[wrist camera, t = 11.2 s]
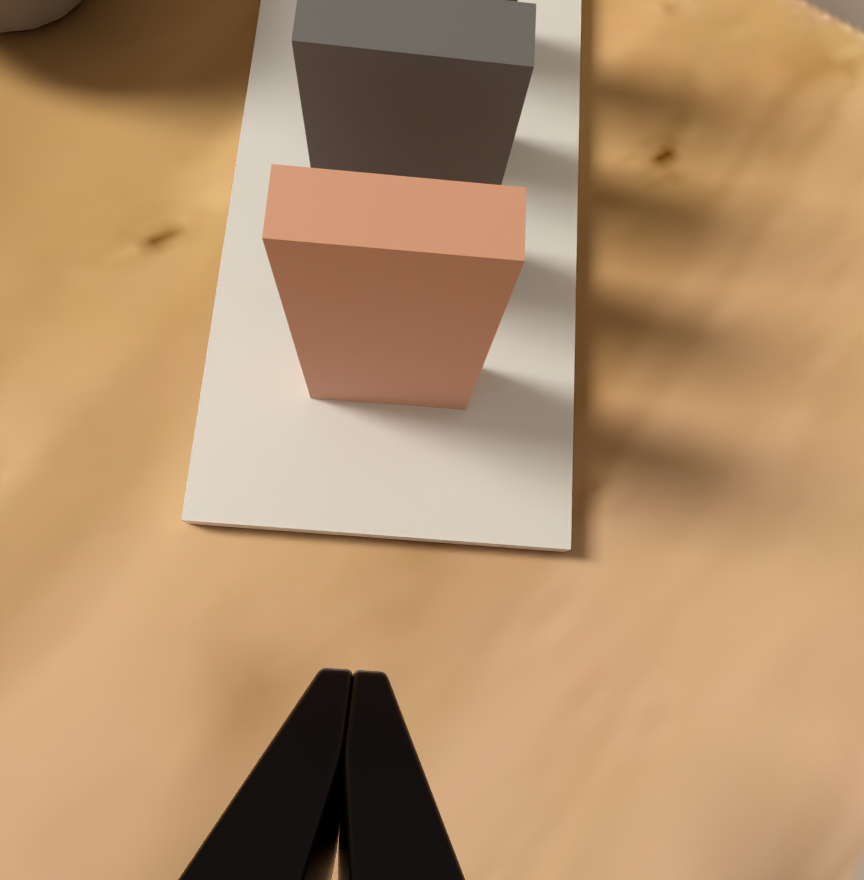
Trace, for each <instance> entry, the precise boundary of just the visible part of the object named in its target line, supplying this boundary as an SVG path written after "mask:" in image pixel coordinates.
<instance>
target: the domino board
mask: <svg viewBox="0 0 864 880" xmlns="http://www.w3.org/2000/svg"><path fill="white" fill-rule="evenodd" d="M517 2H525V3H534V4H536V26H535V53H534V68H533V72H532V76H531V79H530V83H529V87H528V90H527V94H526V98H525V101H524V105H523V108H522V112H521V116H520V119H519V123H518V127H517V130H516V134H515V137H514V141H513V145H512V148H511V152H510V156H509V159H508V163H507V166H506V170H505V174H504V177H503V181H502V185H505V186H515V187H526V188H527V195H526V230H525V261H524V264H523V266H522V269H521V271H520V274H519V276H518V279H517V281H516V284H515V286H514V289H513V291H512V294H511V296H510V299H509V302H508V304H507V307H506V309H505V312H504V314H503V317H502V319H501V322H500V324H499V327H498V329H497V332H496V334H495V337H494V339H493V342H492V344H491V347H490V349H489V352H488V355H487V357H486V360H485V362H484V365H483V367H482V370H481V372H480V375H479V377H478V380H477V382H476V385H475V387H474V390H473V392H472V395H471V397H470V400H469V403H468V405H467V408H466V410H461V409H448V408H435V407H421V406H408V405H395V404H382V403H369V402H355V401H342V400H329V399H316V398H310V395H309V392H308V388H307V385H306V382H305V378H304V375H303V372H302V368H301V365H300V362H299V358H298V355H297V352H296V349H295V345H294V342H293V339H292V335H291V332H290V329H289V325H288V322H287V319H286V316H285V312H284V309H283V306H282V302H281V299H280V296H279V292H278V289H277V286H276V283H275V279H274V276H273V273H272V269H271V266H270V263H269V259H268V256H267V253H266V249H265V246H264V243H263V240H262V235H263V227H264V219H265V211H266V204H267V196H268V188H269V180H270V173H271V165H272V164H277V165H288V166H298V167H309V168H311V167H310V160H309V154H308V147H307V140H306V134H305V127H304V120H303V114H302V107H301V100H300V94H299V87H298V80H297V74H296V67H295V61H294V54H293V47H292V41H291V40H292V33H293V26H294V19H295V11H296V4H297V0H261V3H260V10H259V16H258V23H257V29H256V36H255V42H254V49H253V56H252V62H251V69H250V75H249V82H248V88H247V95H246V101H245V108H244V114H243V121H242V127H241V134H240V140H239V147H238V153H237V160H236V166H235V173H234V179H233V186H232V192H231V199H230V205H229V212H228V218H227V225H226V232H225V238H224V245H223V251H222V258H221V264H220V271H219V277H218V284H217V290H216V297H215V303H214V310H213V316H212V323H211V329H210V336H209V342H208V349H207V355H206V362H205V368H204V375H203V381H202V388H201V394H200V401H199V408H198V414H197V421H196V427H195V434H194V440H193V447H192V453H191V460H190V466H189V473H188V479H187V486H186V492H185V499H184V505H183V512H182V518H181V520H182V521H184V522H186V523H187V524H198V525H211V526H224V527H238V528H251V529H264V530H278V531H291V532H304V533H318V534H331V535H344V536H358V537H371V538H384V539H398V540H411V541H424V542H438V543H451V544H464V545H478V546H491V547H504V548H518V549H531V550H544V551H558V552H566V551H569V550H571V521H572V469H573V416H574V363H575V311H576V258H577V206H578V153H579V100H580V48H581V0H518V1H517Z"/></svg>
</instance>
